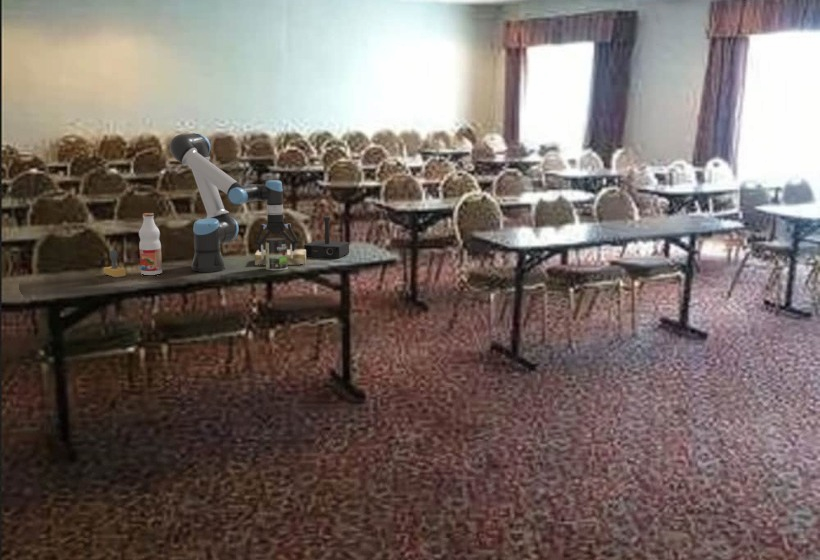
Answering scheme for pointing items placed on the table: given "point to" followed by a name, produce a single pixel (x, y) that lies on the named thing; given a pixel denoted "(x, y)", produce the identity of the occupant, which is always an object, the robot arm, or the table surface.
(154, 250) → the fruit juice
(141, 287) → the table surface
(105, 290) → the table surface
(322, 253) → the projector
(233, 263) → the table surface
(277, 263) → the coffee can
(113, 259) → the rubber stamp
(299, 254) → the beige flat block
